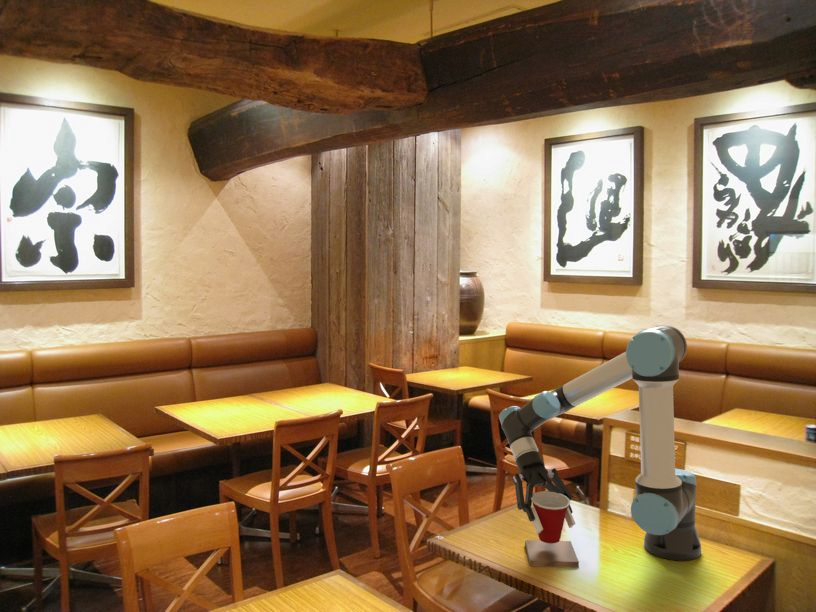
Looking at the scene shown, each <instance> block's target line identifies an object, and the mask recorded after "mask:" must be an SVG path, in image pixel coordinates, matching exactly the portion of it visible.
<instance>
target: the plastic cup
mask: <svg viewBox="0 0 816 612" xmlns="http://www.w3.org/2000/svg"><path fill="white" fill-rule="evenodd" d="M531 501H532V505H533V506H532V507H535V510H536V512H537V515H538V517H539V520H540V522H541V525H542V527H543V530H542V531H541V532H540V533H538V534H537V535H538V539H539V540H541V541H542V542H545V543H557V542H559V541H561V537H562V531H563V529H564V525H565V520H566V519H565V514H566V511H567V508H568V506H569V505H570V506H571V500H569V499H568V498H567V497H566V496H564V495H562V494H560V493H559V494H558V493H556V492H550V491H548V490H544V491H537V492H533V496H532V498H531Z"/></svg>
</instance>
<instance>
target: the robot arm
mask: <svg viewBox="0 0 816 612" xmlns="http://www.w3.org/2000/svg"><path fill="white" fill-rule="evenodd" d="M625 349H626V350H625V351H624V352H621V353H620V354H619V355H617V356H615V357H614V358H612V359H610V360H608V361H606V362H603V363H602V364H600V365H598V366H596V367H594V368H593V369H590V370H589V371H587V372H586V373H583V374H581V375H579V376H578V377H575V378H573V379H572V380H570V381H568V382H567V383H565V384H563V385H561V386H559V387H557V388H554V389H553V390H551V391H548V390H544V391H542V392H541V393H539V394H536V395H535V396H534V398H532V399H531V400H529V401H528V402H526V404H524V405H523V406H522V407H520V406H517V405H512V406H509V407H506V408H504V409H503V410H501V412H500V413H499V416H498V418H499V422H500V424H501V429H502V430H503V433H504V435H505V437H506V440H507V442H508V445H509V448H510V450H511V453H512V455H513V459H514V460H515V464H516V467H517V469H518V471H519V472H520V473H515V474H514V475H513V477H512V478H511V479H512V482H513V484H514V486H515V487H514V488H515V496H516V504H517V505H516V506H517V509H518V510H520V511H521V510H522V511H523V513H526V515H527V518H528V521H529V522H531V523H532V525H533V526H534V529H535V532H536V534H537V535H538V533H540V532H541V531H542V530H543V527H542V525H541V522H540V520H539V517H538V515H537V512H536V510H535V507H534V506H532V505H533V502H532V501H531V498H532V496H533V494H534V488H536V487H543V488H544V489H546V491H550V492H556V493H558V494H559V493H560V494H562V495H564V496H566V497H567V498H568V499H569V500H570V501H572V499H573V498H574V496H573V494H572V493H571V492H570V490H569V488H568V487H567V485H566V484H565V482H564V481H563V480H562V479H561V476H559V474H558V471H557V469H556V468H552V469H547V468H546V466H545V463H544V460H543V458H542V455H541V453H540V452H539V448H538V446H537V443H536V441H535V439H534V436H533V434H532V432H534V431H535V430H536V429H537V428H539V427H540V426H541V425H543V424H545V423H546V422H549V420H552V419H554V418H556V417H558V416H560V415H562V414H565V413H567V412H569V411H570V410H572V409H574V408H576V407H578V406H580V405H581V404H584V403H586V402H588V401H590V400H592V399H593V398H594V399H595V398H596V397H597V396H600V395H602V394H603V393H606V392H608V391H610V390H612V389H614V388H615V387H618V386H619V385H622V384H624V383H626V382H628V381H629V380H631V379H632V381H633V382H635V383H636V384H637V386H638V408H639V409H638V411H639V415H638V416H639V440H640V441H639V443H640V444H639V445H640V447H639V448H640V473H639V474H638V475H637V476H636V477H635V497H634V498H633V499H632V502H631V505H630V513H631V517H632V520H633V521H634V522H635V524H636V525H637V526H638V527H639V528H640V530H642V531H644V532H645V534H644V539H643V540H644V541H643V546H644V548H645V550H647V551H648V552H649V553H650V554H652V555H654V556H656V557H659V558H663V559H666V560H670V561H682V562H684V561H692V560H696V559H698V558H700V557H701V555H702V544H701V540H700V538H699V534H698V531H697V527H696V501H697V487H698V486H697V478H696V477H697V476H696V475H695V474H694V473H693V472H691V471H688V470H684V469H681V468H676V451H675V449H676V448H675V414H674V385H675V384H676V383H677V382H678V381H680V369H679V368H680V367H679V366H680V365H679V363H681V362H682V361H683V360H684V358H685V357H686V354H687V350H688V343H687V339H686V338H685V335H684V334H683V333H682V331H680V330H679V329H678V328H676V327H674V326H671V325H666V324H661V325H657V326H654V327H650V328H645V329H642V330H641V331H639V332H637V333H635V335H633V337H631V338H630V340H629V342H628V344H627V346H626V348H625ZM523 481H524V482H525V483H526V485H525V496H524V488H523ZM564 520H565V521H566V523H567V526H568V528H570V529H572V528H573V527H574V526H575V525H576V521H575V519H574V516H573V509H572V506H571V504H570V505H569V506H568V508H567V511H566V514H565V519H564Z"/></svg>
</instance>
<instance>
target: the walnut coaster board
mask: <svg viewBox="0 0 816 612" xmlns="http://www.w3.org/2000/svg"><path fill="white" fill-rule="evenodd" d="M524 541H525V542H524V543H525V550H526V554H527V557H528V562H529V566H530V567H551V568H552V567H556V568H557V567H559V568H560V567H561V568H579V567H580V564H579V563H580V561H579V559H578V557H577V554H576V551H575V548H574V547H573V544H572V541H571V540H560V541H559V542H557V543H545V542H542V541H541V540H540V539H539V540H536V539H534V540H533V539H525V540H524Z"/></svg>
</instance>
